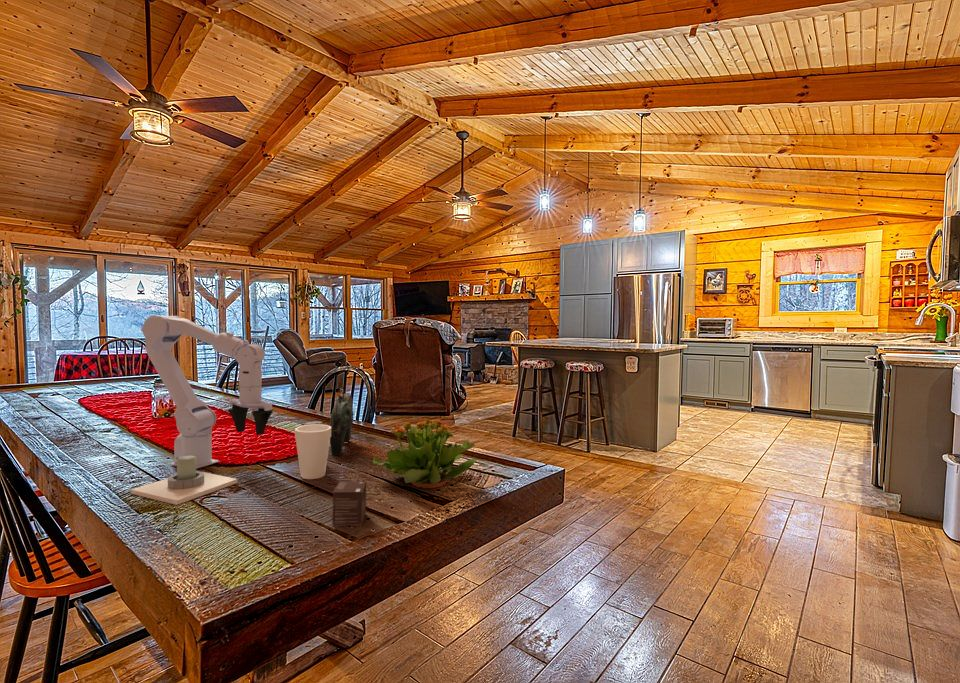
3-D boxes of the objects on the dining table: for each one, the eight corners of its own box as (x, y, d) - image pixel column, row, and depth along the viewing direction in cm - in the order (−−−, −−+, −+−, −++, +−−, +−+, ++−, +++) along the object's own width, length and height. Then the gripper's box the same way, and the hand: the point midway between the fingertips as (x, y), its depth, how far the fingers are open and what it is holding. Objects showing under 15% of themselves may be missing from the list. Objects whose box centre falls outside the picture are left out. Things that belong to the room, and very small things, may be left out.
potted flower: (440, 463, 140) (441, 405, 140) (496, 483, 124) (498, 418, 123) (367, 481, 123) (368, 416, 122) (421, 508, 106) (423, 432, 105)
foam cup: (288, 474, 127) (288, 427, 126) (320, 467, 133) (320, 422, 133) (305, 483, 120) (305, 434, 120) (337, 475, 127) (337, 428, 126)
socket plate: (131, 493, 111) (130, 481, 111) (194, 473, 126) (194, 463, 126) (176, 504, 105) (176, 491, 105) (237, 482, 120) (237, 471, 120)
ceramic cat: (337, 440, 165) (338, 383, 164) (356, 439, 165) (357, 384, 164) (325, 456, 145) (326, 392, 144) (346, 456, 146) (347, 392, 145)
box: (338, 514, 102) (338, 481, 102) (366, 514, 102) (366, 481, 102) (332, 526, 96) (332, 491, 96) (361, 526, 96) (362, 491, 96)
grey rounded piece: (173, 484, 114) (173, 458, 114) (189, 479, 118) (190, 454, 118) (182, 487, 113) (183, 461, 112) (199, 483, 116) (199, 457, 116)
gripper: (220, 386, 132) (220, 433, 133) (257, 389, 127) (257, 439, 127) (241, 383, 139) (241, 428, 139) (278, 386, 133) (277, 433, 134)
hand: (250, 433), depth 134 cm, fingers open, 7 cm apart
